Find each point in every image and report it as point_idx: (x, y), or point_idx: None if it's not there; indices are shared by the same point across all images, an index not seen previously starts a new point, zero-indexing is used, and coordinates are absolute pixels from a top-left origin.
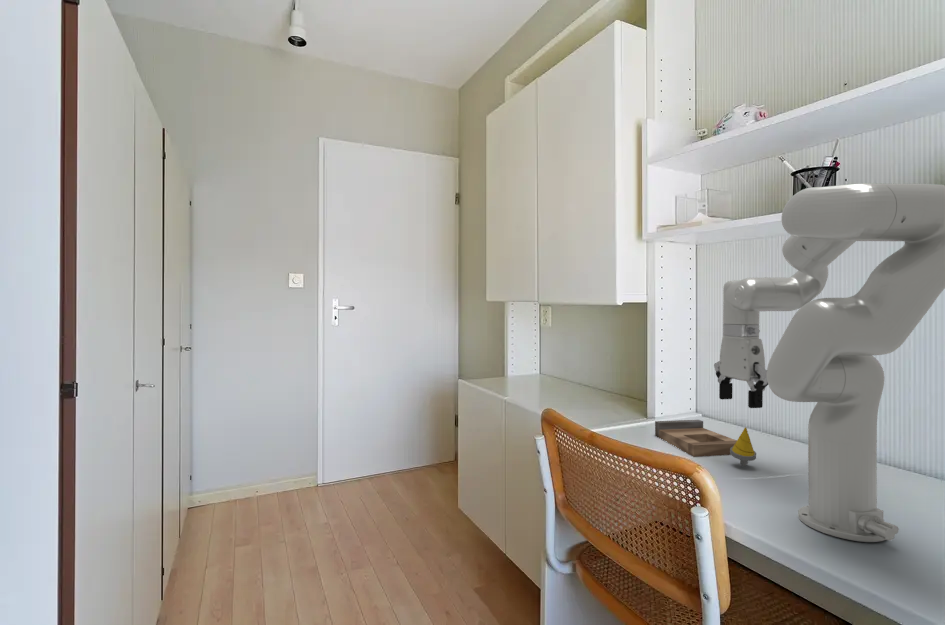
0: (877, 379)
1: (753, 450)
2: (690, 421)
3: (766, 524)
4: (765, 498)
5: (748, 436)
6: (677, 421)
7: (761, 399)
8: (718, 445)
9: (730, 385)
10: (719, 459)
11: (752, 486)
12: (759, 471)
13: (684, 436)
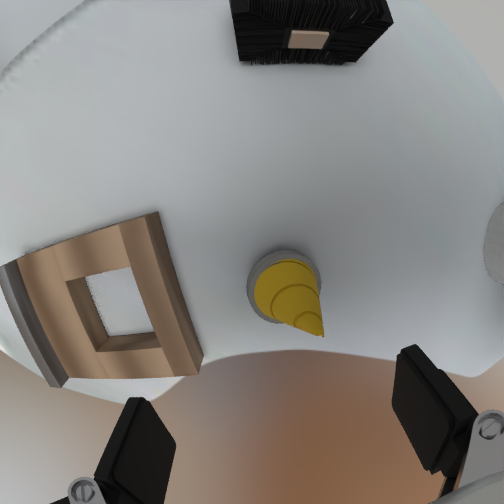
0: None
1: (306, 269)
2: (17, 304)
3: (491, 346)
4: (448, 315)
5: (319, 309)
6: (29, 338)
7: (454, 385)
8: (172, 304)
9: (129, 478)
10: (214, 303)
11: (405, 313)
12: (317, 247)
13: (110, 355)
